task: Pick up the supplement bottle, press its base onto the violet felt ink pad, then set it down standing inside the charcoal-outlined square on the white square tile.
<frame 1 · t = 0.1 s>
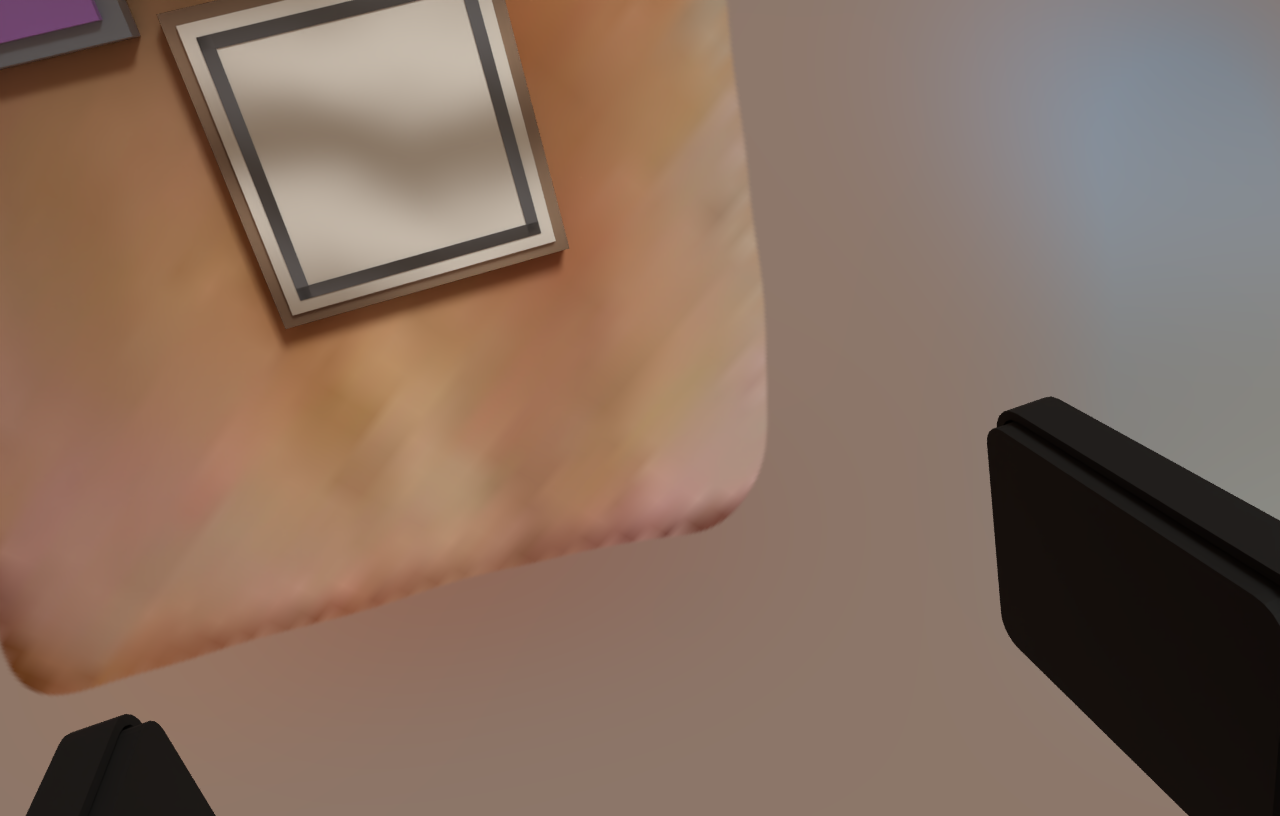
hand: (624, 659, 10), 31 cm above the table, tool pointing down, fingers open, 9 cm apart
white square tile: (382, 139, 37), on the table
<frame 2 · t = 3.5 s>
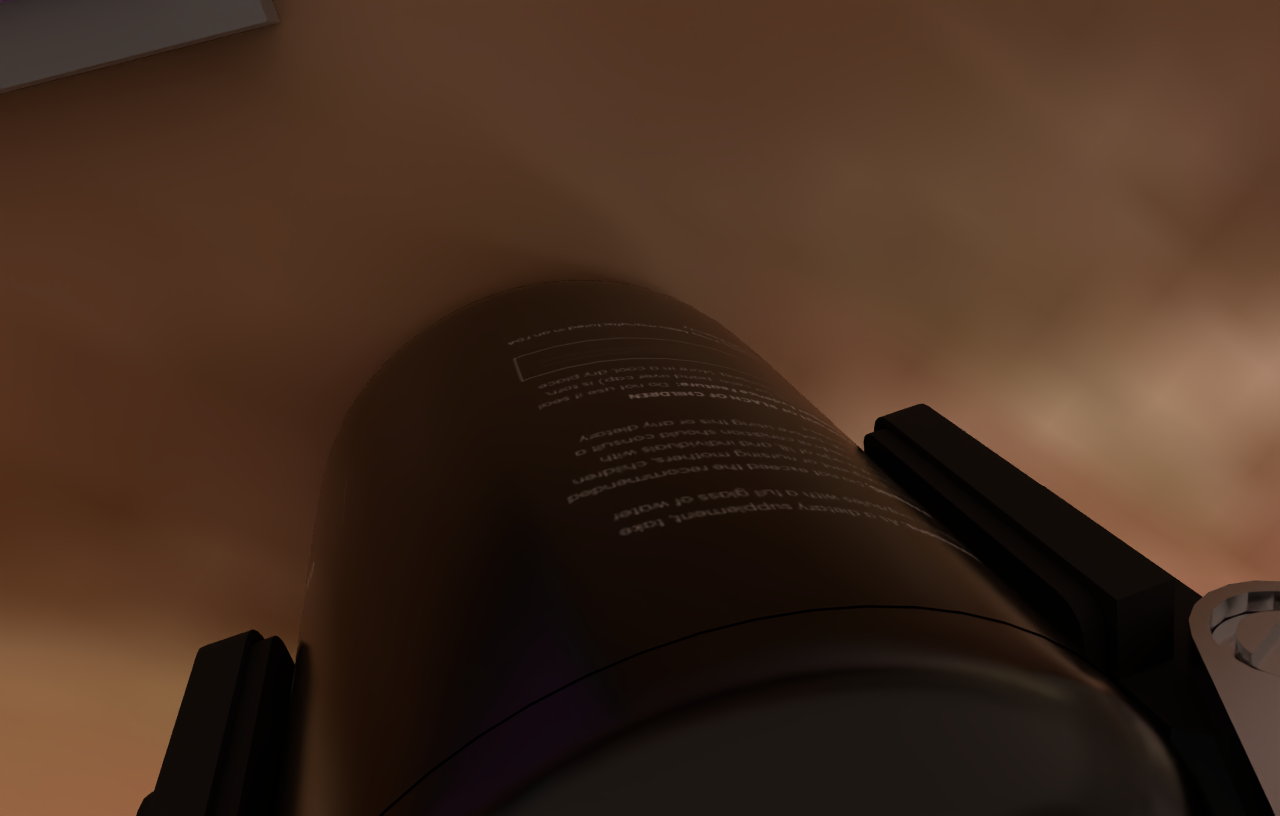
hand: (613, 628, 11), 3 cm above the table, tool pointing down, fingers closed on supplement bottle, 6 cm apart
supplement bottle: (564, 492, 14), on the table, touching gripper
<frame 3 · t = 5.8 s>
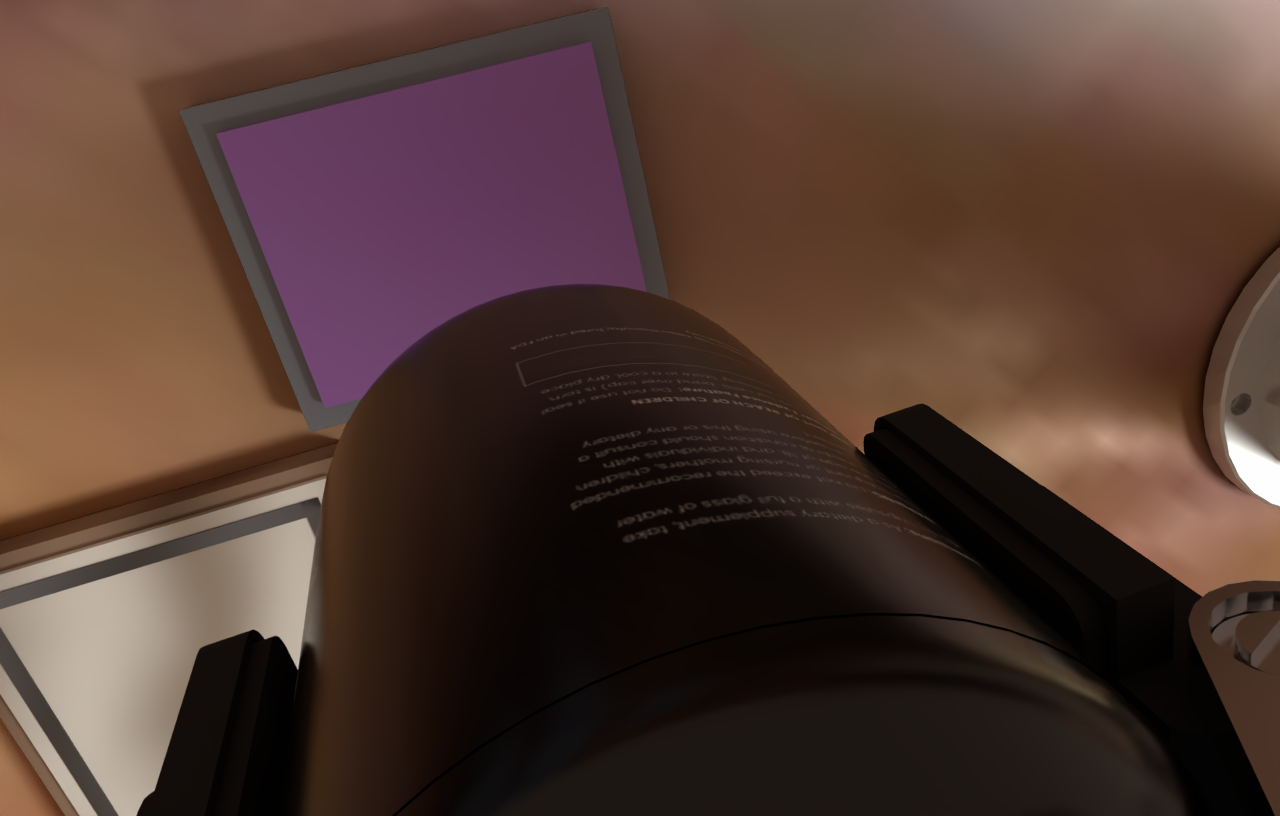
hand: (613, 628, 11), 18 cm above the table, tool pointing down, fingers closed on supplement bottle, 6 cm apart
ink pad: (450, 221, 26), on the table
white square tile: (221, 658, 30), on the table
supplement bottle: (566, 495, 14), point 15 cm above the table, touching gripper
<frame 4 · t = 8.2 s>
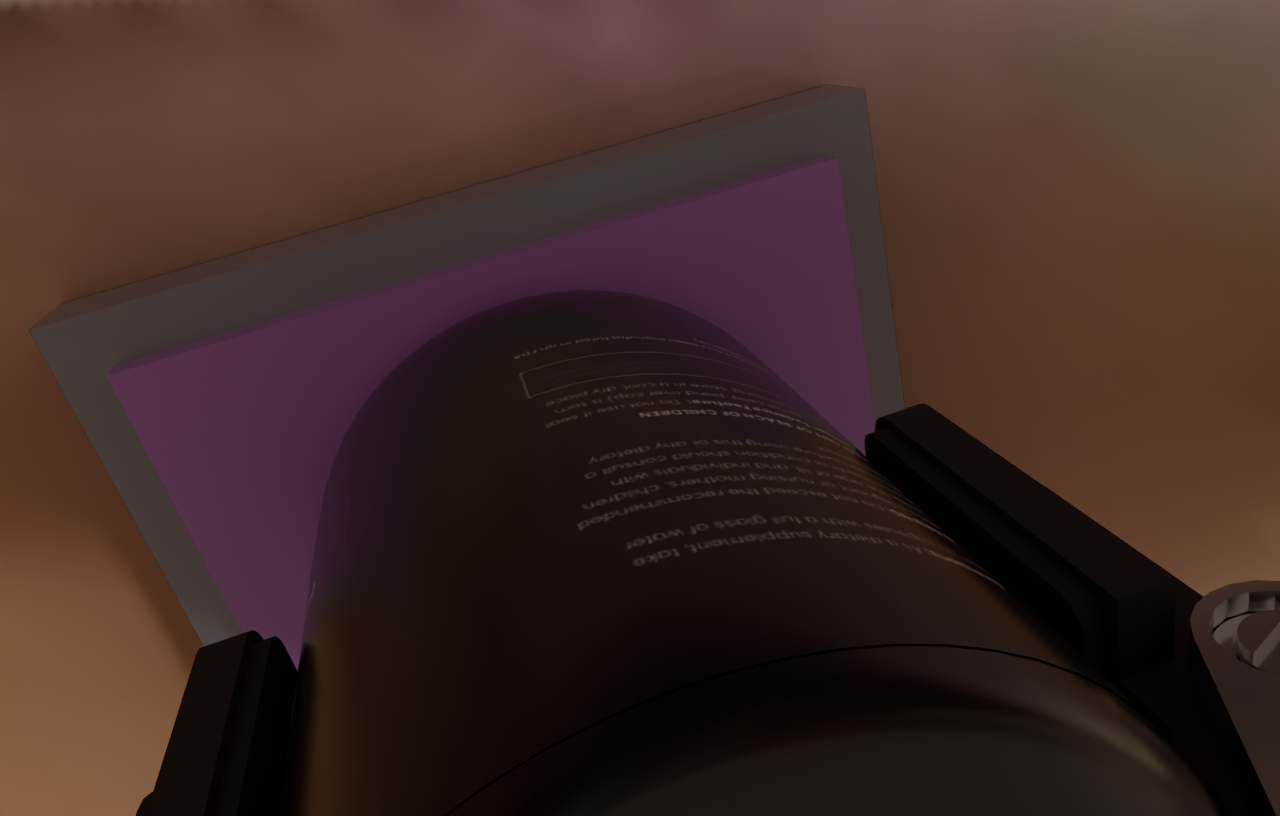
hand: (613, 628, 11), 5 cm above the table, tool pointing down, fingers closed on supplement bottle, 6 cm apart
ink pad: (552, 463, 15), on the table
supplement bottle: (569, 505, 14), point 1 cm above the table, touching gripper, ink pad
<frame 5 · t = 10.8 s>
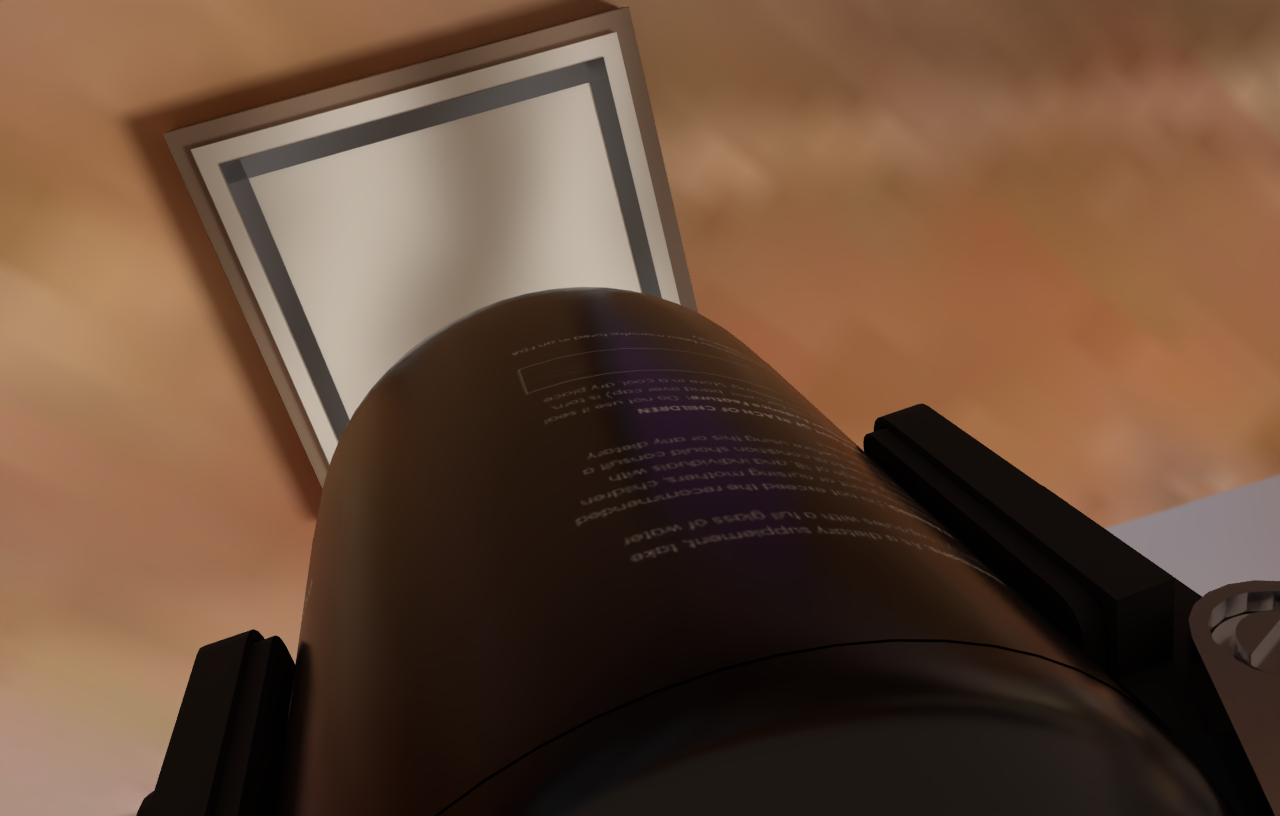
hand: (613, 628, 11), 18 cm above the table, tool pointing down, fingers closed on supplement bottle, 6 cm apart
white square tile: (473, 281, 27), on the table
supplement bottle: (568, 503, 13), point 15 cm above the table, touching gripper
when the fingers open (5 cm above the table, at t = 13.0 s): supplement bottle drops 1 cm, resting on white square tile.
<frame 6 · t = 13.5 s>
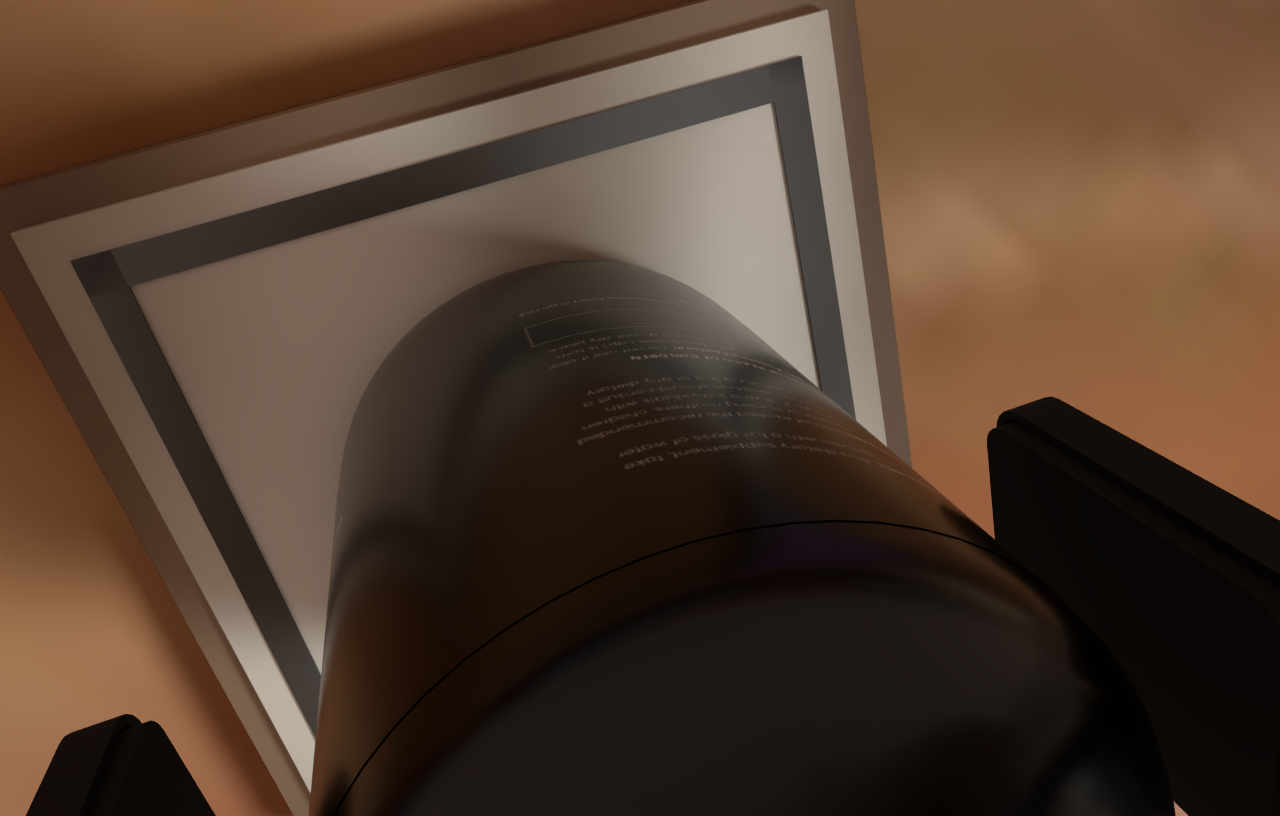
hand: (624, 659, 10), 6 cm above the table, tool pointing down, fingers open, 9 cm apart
white square tile: (543, 441, 15), on the table
supplement bottle: (568, 462, 15), point 1 cm above the table, touching white square tile
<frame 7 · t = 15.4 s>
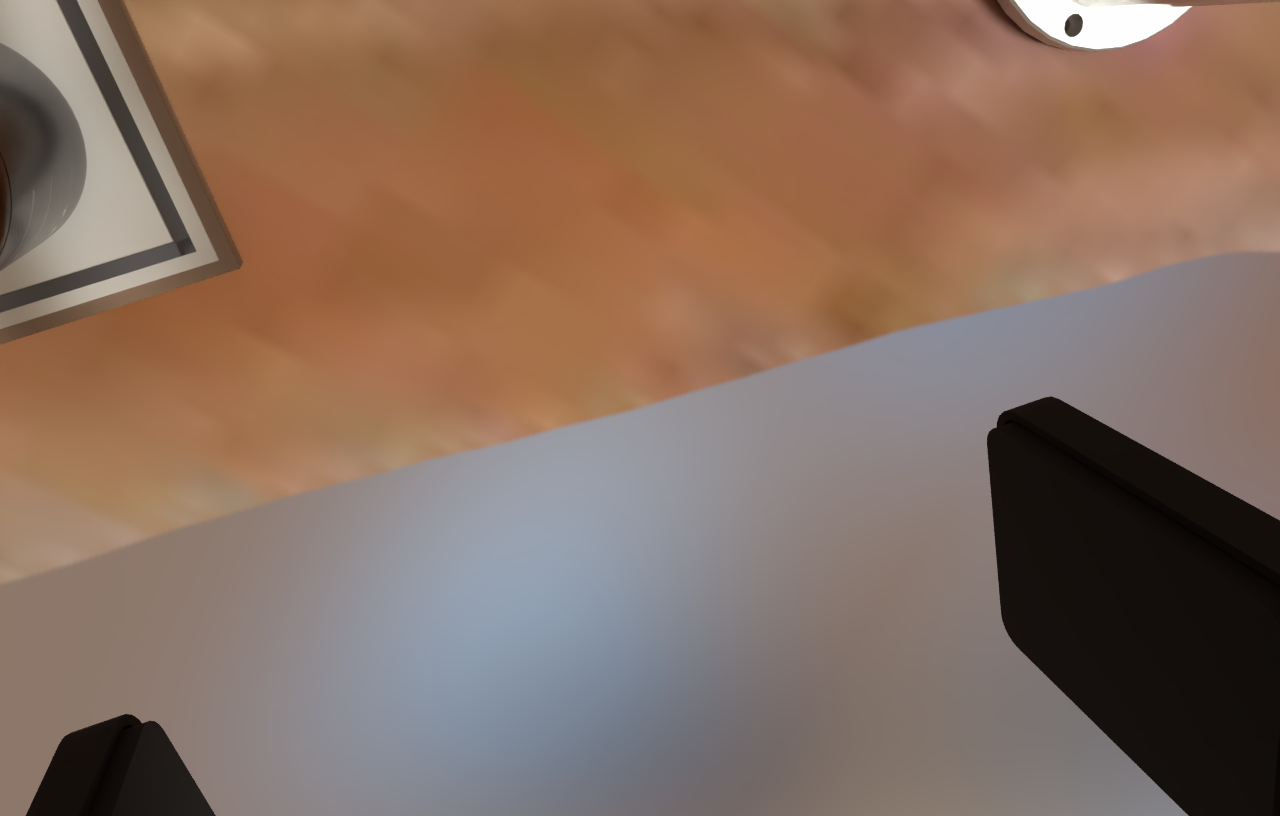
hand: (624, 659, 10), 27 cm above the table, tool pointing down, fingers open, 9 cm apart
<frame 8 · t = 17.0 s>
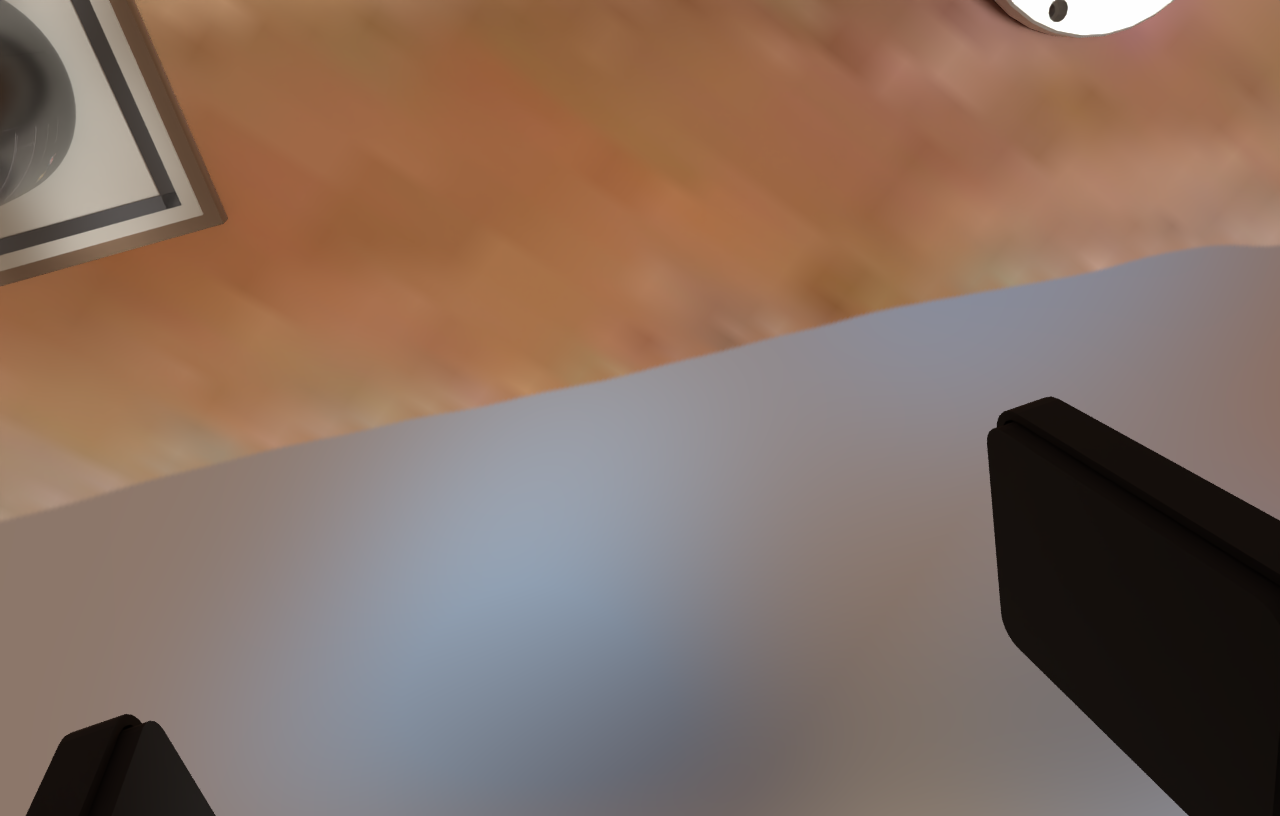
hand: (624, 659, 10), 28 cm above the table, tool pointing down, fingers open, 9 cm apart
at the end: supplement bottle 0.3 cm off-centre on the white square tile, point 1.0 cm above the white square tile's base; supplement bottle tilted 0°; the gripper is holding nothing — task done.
